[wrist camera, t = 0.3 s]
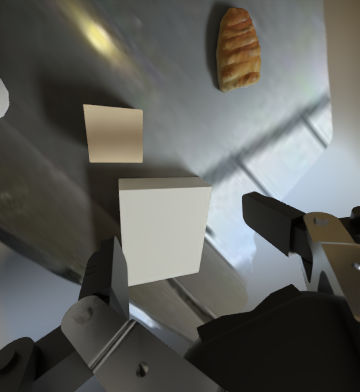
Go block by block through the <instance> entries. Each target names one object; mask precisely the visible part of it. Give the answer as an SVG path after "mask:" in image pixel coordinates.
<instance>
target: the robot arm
mask: <svg viewBox="0 0 360 392" xmlns="http://www.w3.org/2000/svg"><path fill="white" fill-rule="evenodd" d="M242 209H243V219H244V221H245V223H246V224H247V225H248V226H249V227H250V228H252V229H253V230H254V231H256V232H257V233H258V234H259V235H261V236H262V237H263V238H265V239H266V240H267V241H268V242H270V243H271V244H272V245H273V246H275V247H276V248H277V249H279V250H280V251H281V252H282V253H284V254H285V255H286V256H288V257H290V256H293V255H295V254H298V255H300V256H299V262H300V266H301V269H302V273H303V276H304V280H305V284H306V287H307V291H299V290H298V289H297V288H296V287H295V286H294V285H292V284H290V285H288V286H286V287H284V288H282V289H280V290H277V291H275V292H273V293H271V294H270V295H269V296H268V297H266V298H265V299H264V300H263V301H262V302H261V303H260V304H259V305H258V306H257V307H256V308H255V309H254V310H252V311H250V312H244V313H238V314H231V315H225V316H221V317H219V318H217V319H214V320H212V321H210V322H208V323H206V324H204V325H201V326H199V327H197V331H198V335H199V338H198V339H197V340H196V341H195V342H194V343H193V344H192V345H191V346H190V347H189V349H188V350H187V352H186V353H185V355H184V357H182V356H181V355H179V354H178V353H177V352H175V351H174V350H173V349H171V348H170V347H168V345H166V344H165V343H164V342H163V341H161V340H160V339H159V338H157V337H156V336H155V335H154V334H152V333H151V332H150V331H149V330H147V329H146V328H145V327H144V326H142V325H141V324H140V323H138V322H137V321H135V320H133V319H131V320H129V294H128V268H127V262H126V259H125V256H124V254H123V251H122V249H121V246H120V244H119V242H118V239H117V237H116V236H114V237H111V238H108V239H105V240H102V241H101V246H100V251H98V252H95V253H93V255H92V256H91V257H90V259H89V260H88V263H87V267H86V271H85V276H84V279H83V283H82V287H81V290H80V294H79V299H78V301H77V302H76V303H75V304H73V305H72V306H71V307H70V308H69V310H68V311H67V312H66V313H65V315H64V317H63V319H62V322H61V325H60V326H59V327H58V328H56V329H55V330H53V331H52V332H50V333H49V334H47V335H46V336H44V337H43V338H41V339H40V340H38V341H37V342H34V341H33V340H32V339H31V338H29V337H23V338H19V339H17V340H15V341H13V342H11V343H9V344H8V345H6V346H5V347H4V348H3V349H1V350H0V392H74V391H76V390H77V389H78V388H79V387H80V386H81V385H83V384H84V383H85V382H86V381H87V380H89V379H90V378H91V377H92V376H93V375H95V376H96V377H97V379H98V380H99V381H100V383H101V384H102V385H103V387H104V388H105V389H106V391H107V392H360V206H357V207H354V208H353V209H352V212H351V216H350V217H345V218H337V217H335V216H333V215H331V214H328V213H323V212H311V213H307V214H306V213H304V212H302V211H300V210H298V209H296V208H294V207H291V206H289V205H286V204H285V203H283V202H280V201H279V200H277V199H274V198H271V197H267V196H264V195H262V194H260V193H258V192H255V191H254V192H251V193H248V194H244V195H243V196H242Z"/></svg>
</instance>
